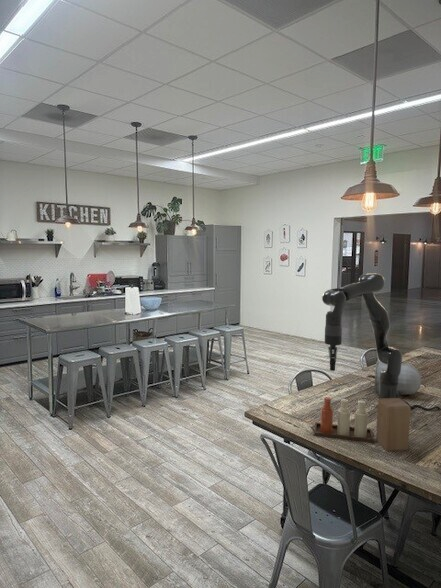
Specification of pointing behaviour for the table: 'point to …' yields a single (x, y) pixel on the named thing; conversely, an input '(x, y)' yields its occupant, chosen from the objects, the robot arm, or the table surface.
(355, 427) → the cream bottle
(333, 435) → the tray
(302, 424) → the table surface
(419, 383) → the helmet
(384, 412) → the wooden block
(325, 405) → the terracotta bottle
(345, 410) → the cream bottle
